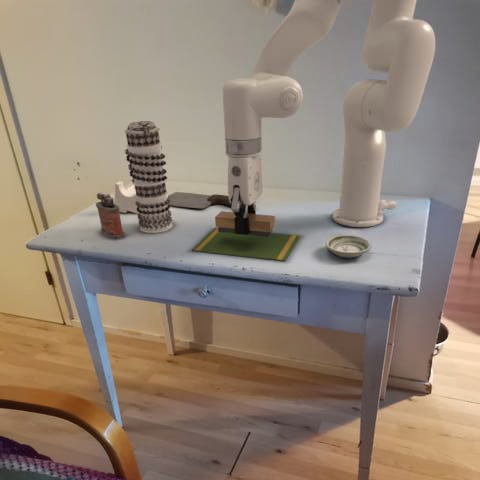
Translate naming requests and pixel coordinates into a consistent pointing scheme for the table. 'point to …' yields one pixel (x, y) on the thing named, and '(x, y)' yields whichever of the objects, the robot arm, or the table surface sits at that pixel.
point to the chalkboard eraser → (257, 223)
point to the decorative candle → (148, 176)
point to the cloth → (248, 245)
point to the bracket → (125, 198)
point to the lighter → (109, 217)
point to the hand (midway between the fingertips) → (245, 229)
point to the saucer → (348, 245)
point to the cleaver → (198, 200)
